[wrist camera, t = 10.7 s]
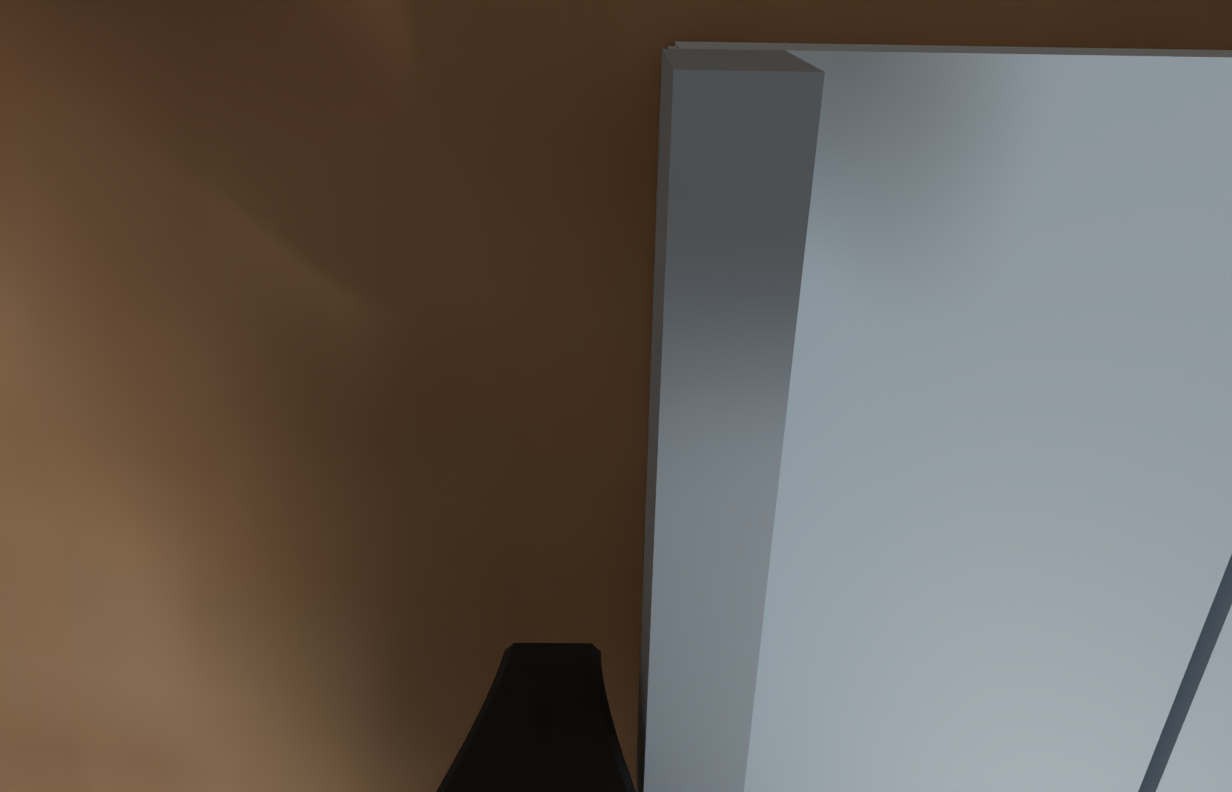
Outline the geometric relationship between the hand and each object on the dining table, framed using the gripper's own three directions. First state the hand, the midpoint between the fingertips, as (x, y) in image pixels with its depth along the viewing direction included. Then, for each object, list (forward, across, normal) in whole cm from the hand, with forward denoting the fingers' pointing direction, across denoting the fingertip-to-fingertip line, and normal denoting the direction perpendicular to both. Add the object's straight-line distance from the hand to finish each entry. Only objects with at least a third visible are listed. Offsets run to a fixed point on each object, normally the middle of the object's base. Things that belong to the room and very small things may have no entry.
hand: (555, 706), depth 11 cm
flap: (+1, -4, 0) cm, 4 cm away
